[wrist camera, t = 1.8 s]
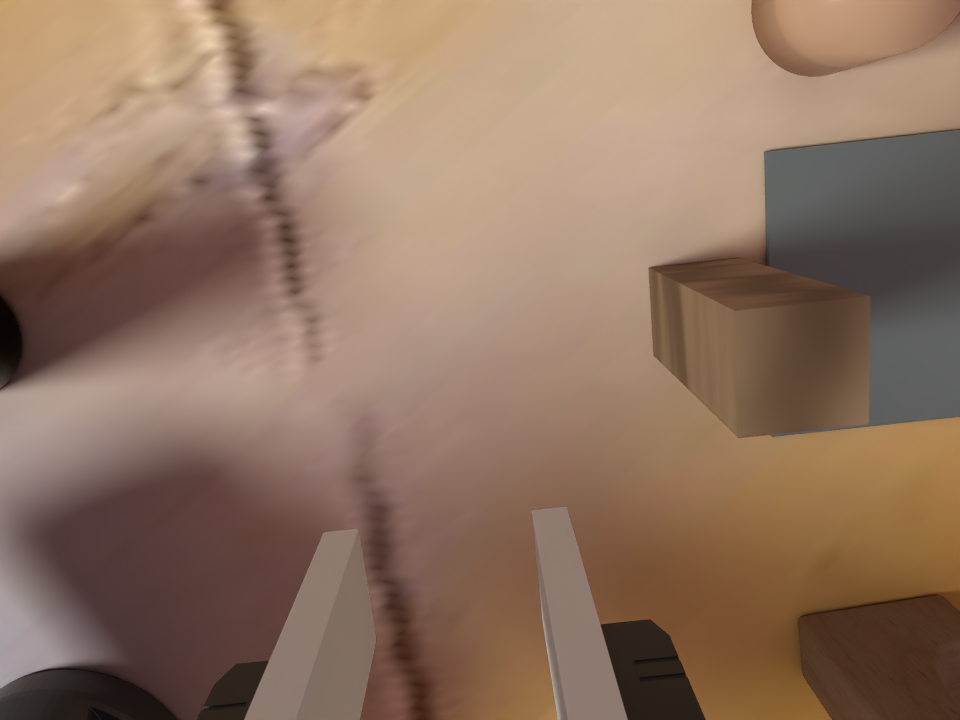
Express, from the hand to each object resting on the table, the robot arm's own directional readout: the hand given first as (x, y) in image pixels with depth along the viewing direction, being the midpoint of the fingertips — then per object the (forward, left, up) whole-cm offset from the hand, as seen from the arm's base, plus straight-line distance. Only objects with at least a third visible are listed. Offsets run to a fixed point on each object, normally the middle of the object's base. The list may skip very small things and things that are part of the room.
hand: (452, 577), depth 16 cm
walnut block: (+13, 0, -27) cm, 30 cm away
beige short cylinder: (+20, +15, -27) cm, 37 cm away
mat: (+25, 0, -27) cm, 37 cm away
